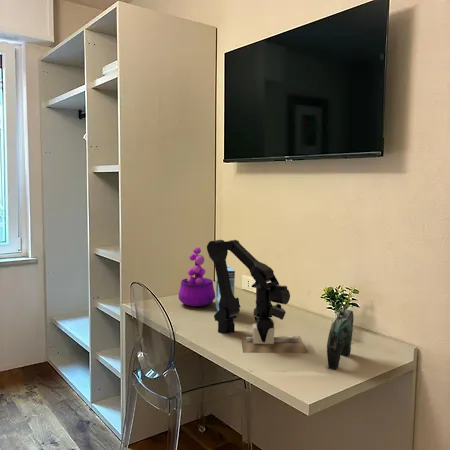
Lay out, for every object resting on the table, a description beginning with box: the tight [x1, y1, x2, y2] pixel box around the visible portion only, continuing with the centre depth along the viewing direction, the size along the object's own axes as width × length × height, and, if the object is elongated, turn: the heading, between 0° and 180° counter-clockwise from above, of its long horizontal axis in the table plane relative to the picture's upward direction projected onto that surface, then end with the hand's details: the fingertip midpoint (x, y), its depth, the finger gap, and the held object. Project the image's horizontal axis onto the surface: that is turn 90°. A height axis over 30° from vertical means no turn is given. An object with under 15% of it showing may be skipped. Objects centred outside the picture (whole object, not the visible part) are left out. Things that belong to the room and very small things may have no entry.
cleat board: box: [240, 335, 309, 354], centre depth 177 cm, size 24×18×3 cm
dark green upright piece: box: [326, 303, 355, 371], centre depth 164 cm, size 20×6×20 cm, turn 150°
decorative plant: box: [178, 246, 216, 307], centre depth 235 cm, size 19×18×30 cm
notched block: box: [251, 323, 275, 344], centre depth 180 cm, size 8×6×6 cm
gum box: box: [215, 264, 236, 312], centre depth 220 cm, size 20×5×23 cm, turn 13°
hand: (262, 338), depth 180 cm, fingers closed on notched block, 6 cm apart
